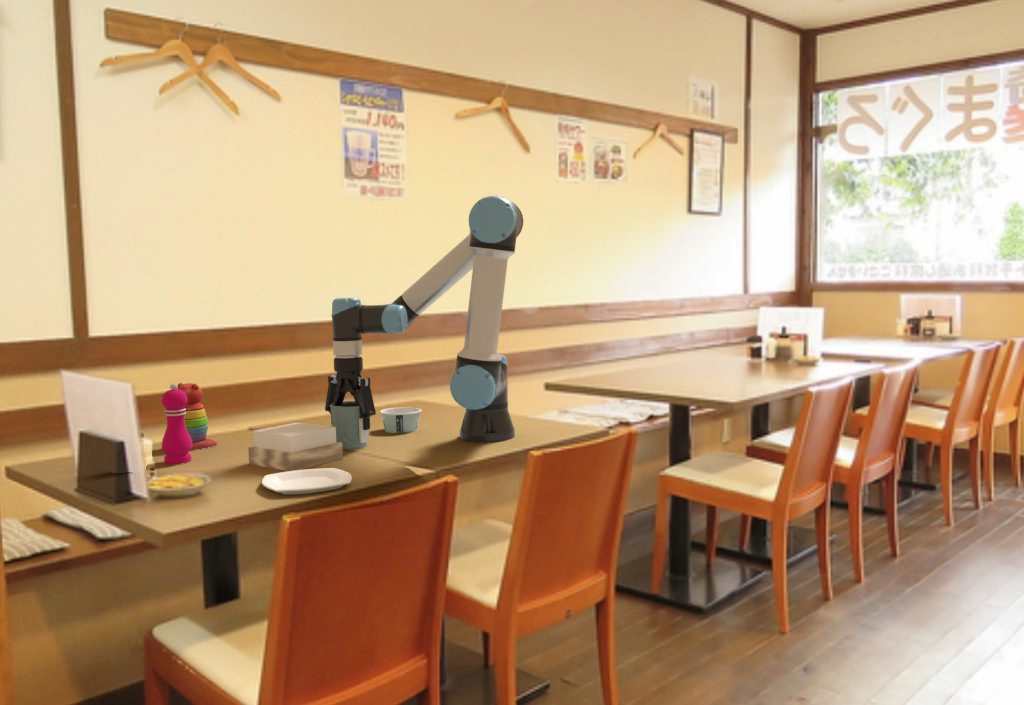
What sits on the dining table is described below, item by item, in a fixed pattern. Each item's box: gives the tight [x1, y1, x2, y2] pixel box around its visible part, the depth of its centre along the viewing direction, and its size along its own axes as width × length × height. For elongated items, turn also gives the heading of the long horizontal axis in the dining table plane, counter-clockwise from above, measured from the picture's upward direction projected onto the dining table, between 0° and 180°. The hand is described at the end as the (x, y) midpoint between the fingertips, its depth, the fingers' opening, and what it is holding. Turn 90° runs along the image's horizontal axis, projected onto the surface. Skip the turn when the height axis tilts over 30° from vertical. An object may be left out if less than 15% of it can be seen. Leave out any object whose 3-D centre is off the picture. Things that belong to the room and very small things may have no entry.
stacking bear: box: [177, 382, 218, 451], centre depth 239 cm, size 11×10×18 cm
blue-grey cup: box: [330, 400, 368, 451], centre depth 235 cm, size 10×10×12 cm
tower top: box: [252, 421, 336, 453], centre depth 218 cm, size 14×14×4 cm
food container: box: [379, 406, 422, 434], centre depth 257 cm, size 12×12×6 cm
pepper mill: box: [161, 382, 192, 465], centre depth 221 cm, size 7×7×20 cm
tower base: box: [247, 442, 344, 472], centre depth 218 cm, size 16×16×5 cm
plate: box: [261, 467, 353, 496], centre depth 194 cm, size 19×19×2 cm
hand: (350, 439), depth 235 cm, fingers closed on blue-grey cup, 10 cm apart
